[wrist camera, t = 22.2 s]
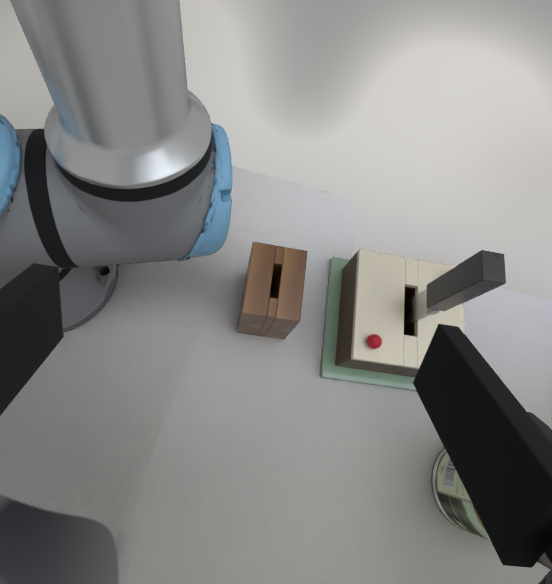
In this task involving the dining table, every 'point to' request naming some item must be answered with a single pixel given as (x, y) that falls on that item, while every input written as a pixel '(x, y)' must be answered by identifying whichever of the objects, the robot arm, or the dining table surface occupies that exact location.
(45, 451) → the dining table surface
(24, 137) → the robot arm
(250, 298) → the knife block
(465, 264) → the knife
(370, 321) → the cake
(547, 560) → the coffee can
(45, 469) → the dining table surface
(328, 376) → the cake platter
